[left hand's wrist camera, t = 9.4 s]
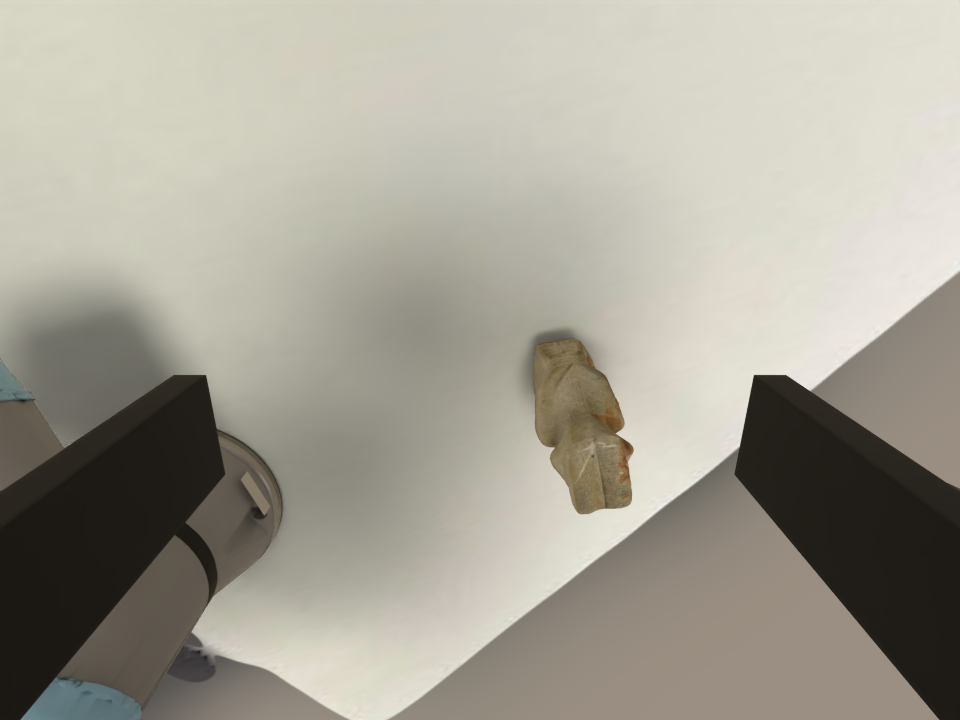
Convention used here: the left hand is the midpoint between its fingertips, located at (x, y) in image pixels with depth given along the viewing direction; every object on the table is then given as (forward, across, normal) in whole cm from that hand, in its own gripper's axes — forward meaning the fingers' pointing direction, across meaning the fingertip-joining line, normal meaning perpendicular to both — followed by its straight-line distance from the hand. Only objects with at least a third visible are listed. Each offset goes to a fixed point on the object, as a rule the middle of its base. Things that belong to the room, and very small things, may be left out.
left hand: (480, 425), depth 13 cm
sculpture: (+29, -7, +10) cm, 31 cm away
